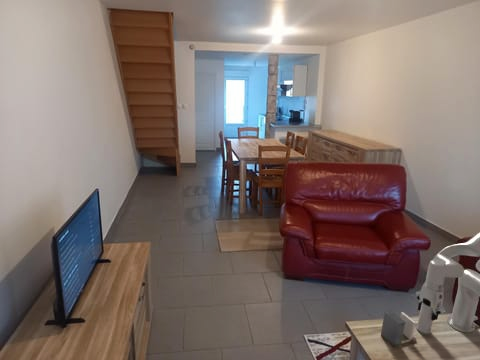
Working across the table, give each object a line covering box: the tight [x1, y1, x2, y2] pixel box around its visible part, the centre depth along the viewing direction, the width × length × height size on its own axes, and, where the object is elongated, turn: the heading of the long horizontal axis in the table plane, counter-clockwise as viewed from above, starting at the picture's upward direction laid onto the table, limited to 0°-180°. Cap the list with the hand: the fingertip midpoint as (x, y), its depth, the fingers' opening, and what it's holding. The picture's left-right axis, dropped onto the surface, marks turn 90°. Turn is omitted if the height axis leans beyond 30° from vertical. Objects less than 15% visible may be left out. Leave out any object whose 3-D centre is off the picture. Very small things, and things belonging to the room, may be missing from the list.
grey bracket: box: [380, 310, 417, 349], centre depth 171 cm, size 14×9×14 cm, turn 111°
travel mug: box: [416, 298, 434, 336], centre depth 176 cm, size 6×7×20 cm
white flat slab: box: [399, 311, 416, 341], centre depth 172 cm, size 1×9×10 cm, turn 21°
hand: (427, 314), depth 176 cm, fingers open, 7 cm apart
